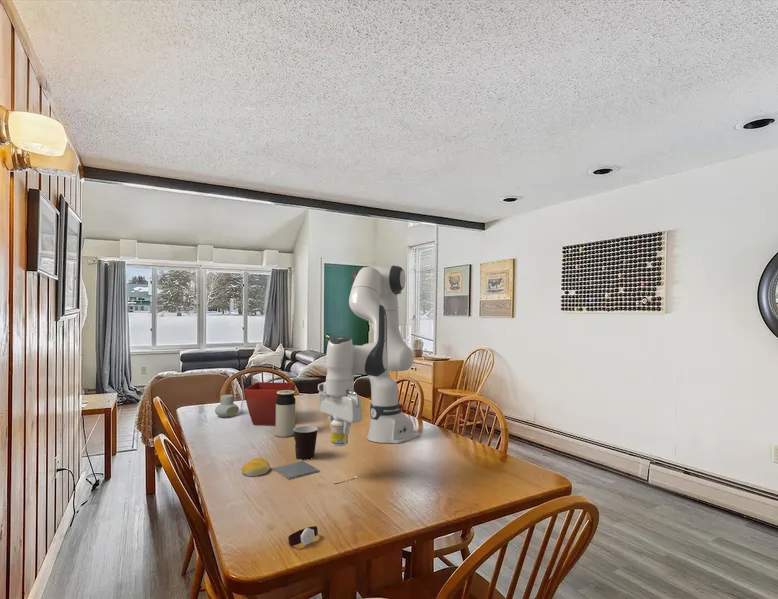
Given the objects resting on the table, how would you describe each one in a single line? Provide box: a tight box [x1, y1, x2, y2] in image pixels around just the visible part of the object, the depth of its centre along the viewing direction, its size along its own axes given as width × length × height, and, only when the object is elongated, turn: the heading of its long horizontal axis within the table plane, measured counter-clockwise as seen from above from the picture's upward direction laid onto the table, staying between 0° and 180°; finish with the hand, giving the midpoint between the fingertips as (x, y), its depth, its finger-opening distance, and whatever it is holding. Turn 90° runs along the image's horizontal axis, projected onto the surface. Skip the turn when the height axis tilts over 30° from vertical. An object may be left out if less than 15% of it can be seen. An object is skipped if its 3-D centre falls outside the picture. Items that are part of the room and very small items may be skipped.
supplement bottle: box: [330, 415, 349, 448], centre depth 145 cm, size 5×5×10 cm
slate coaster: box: [272, 460, 320, 480], centre depth 150 cm, size 11×11×1 cm
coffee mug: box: [293, 425, 318, 461], centre depth 165 cm, size 12×9×10 cm
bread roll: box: [241, 457, 271, 477], centre depth 148 cm, size 8×9×4 cm
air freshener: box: [214, 394, 240, 419], centre depth 221 cm, size 11×8×10 cm
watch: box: [287, 525, 319, 546], centre depth 105 cm, size 8×5×4 cm, turn 139°
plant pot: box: [244, 381, 296, 426], centre depth 211 cm, size 19×19×17 cm
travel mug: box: [275, 390, 296, 438], centre depth 191 cm, size 8×8×18 cm
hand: (339, 431), depth 145 cm, fingers closed on supplement bottle, 5 cm apart
